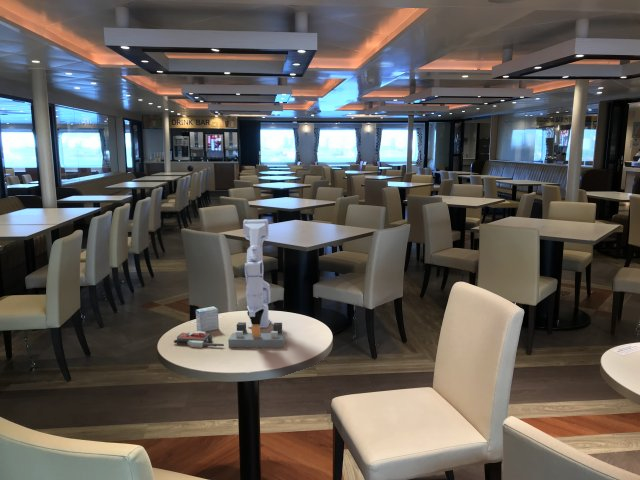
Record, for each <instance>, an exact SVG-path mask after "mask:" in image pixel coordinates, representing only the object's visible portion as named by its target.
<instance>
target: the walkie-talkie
mask: <svg viewBox="0 0 640 480" xmlns="http://www.w3.org/2000/svg"><path fill="white" fill-rule="evenodd" d="M212 341H213V336H212V334H211V333H207V331H206V332H205V331H198V330H195V331H193V332H190V331H187V332H181V333H180V334H178V335H177V336H176V339H174V340H173V343H175V344H177V345H183V346H189V347H191V348H202V349H203V347H224V346H225V345H224V343H211V342H212Z"/></svg>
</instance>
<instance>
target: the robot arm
mask: <svg viewBox="0 0 640 480" xmlns="http://www.w3.org/2000/svg"><path fill="white" fill-rule="evenodd" d="M242 223H243V224H242V227H243V228H242V229H243V230H242V231H243V235H244V237H245V239H246V240H248V241H249V247H247V249H246V262H245V263H244V276H245V283H246V286H245V288H246V290H245V300H246V304H247V306H246V308H247V309H246V310H247V313H246V314H247V316H248V318H249V321H250V323H249V325H248V326H247V327H248V328H249V329H251V325H252V324H260V329H267V328H269V326H270V324H271V321H272V320H271V319H269V304H270V303H271V297H272V296H271V295H272V294H271V285H270V284H269V282H267V281H265V280H264V260H263V259H264V258H263V255H264V254H263V253H264V252H263V243H264V241H265V240H267V239H269V220H268V218H265V219H264V218H263V219H244V220H243V222H242Z"/></svg>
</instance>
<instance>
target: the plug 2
mask: <svg viewBox="0 0 640 480" xmlns="http://www.w3.org/2000/svg"><path fill="white" fill-rule="evenodd" d="M272 326H273V327H272V331H278V333H283V322H273V324H272Z"/></svg>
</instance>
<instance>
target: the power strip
mask: <svg viewBox="0 0 640 480" xmlns="http://www.w3.org/2000/svg"><path fill="white" fill-rule="evenodd" d="M227 341H228V342H227V343H228V348H248V349H249V348H253V349H254V348H258V349H260V348H261V349H263V348H264V349H267V348H269V349H270V348H271V349H272V348H273V349H277V348H278V349H283V348H284V345H285V343H286V332H285V333H283V332H282V333H278V331H273V330H272V331H270V332H263V333H262V332H261V337H252V332H246V333H243V331H237V330H236V331H235V332H232V333H231V335H230V336H229V337H228V340H227Z"/></svg>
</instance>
